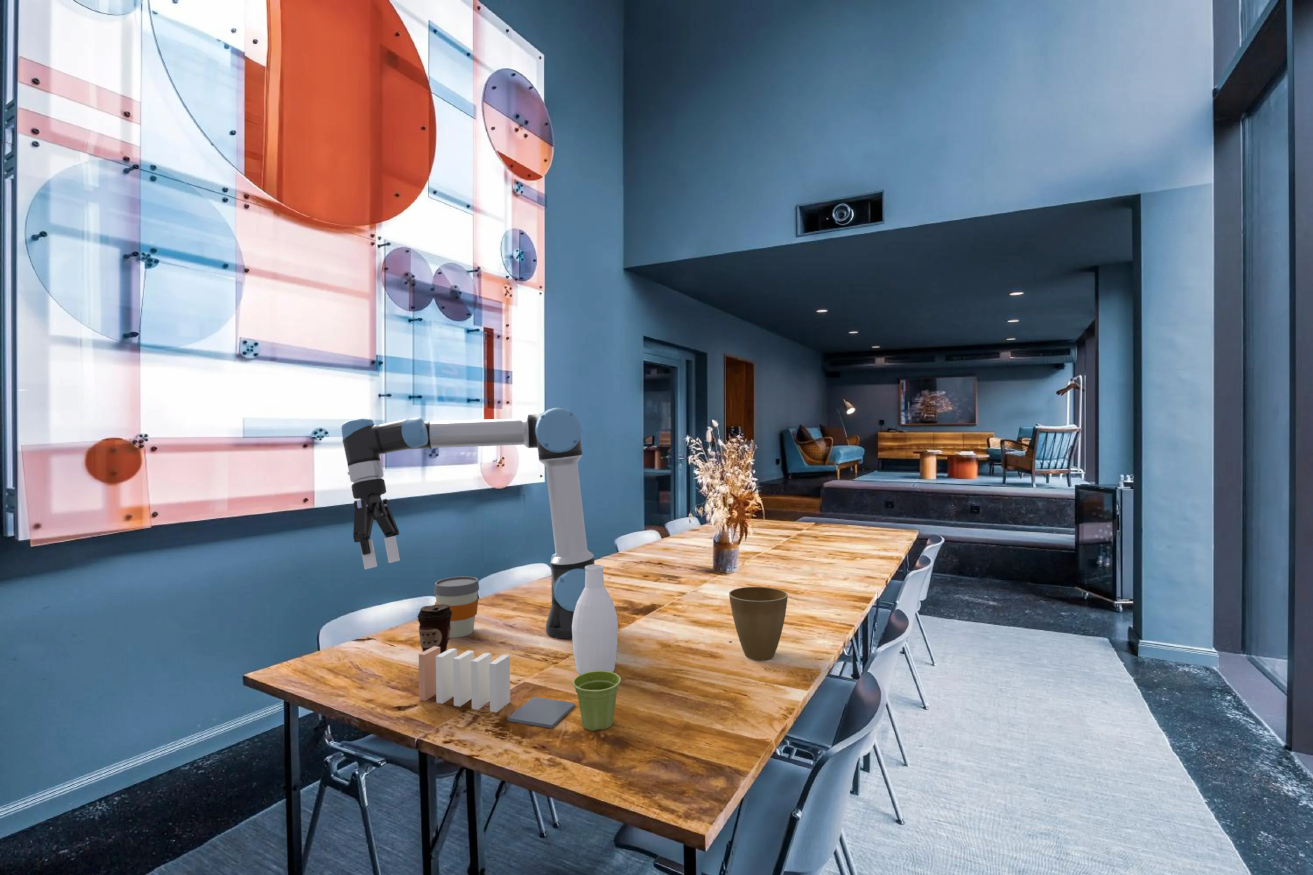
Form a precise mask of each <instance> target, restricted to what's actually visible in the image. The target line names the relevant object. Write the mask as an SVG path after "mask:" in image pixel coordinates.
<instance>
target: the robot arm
mask: <svg viewBox="0 0 1313 875" xmlns="http://www.w3.org/2000/svg"><path fill="white" fill-rule="evenodd" d="M582 431H583V430H582V424H581V422H580V420H579V418H578V417H577V415H576V414H575V413H574V412H573V411H572V410H569V409H567V408H563V407H552V408H548V409H546V410H545V411H543V412H542V413H537V414H536V413H535V414H526V415H525V416H524V417H523V418H497V419H495V418H494V419H466V420H465V419H464V420H463V419H462V420H459V419H458V420H435V421H434V420H432V421H430V420H429V421H427V420H424V419H423V418H421V417H413V418H412V417H411V418H410V417H408V418H405V419H402V420H396V421H391V422H386V423H383V424H382V423H381V424H375V423H374V421H373V420H372V419H371V418H355V419H350V420H348V421H344V423H342V425H341V434H342V443H343V447H344V453H345V457H346V462H347V469H348V471H347V475H348V476H349V481H350V482H351V483H352V485H351V492H352V496H353V497H352V498H353V499H355V500H354V501H353V507H354V514H353V515H354V516H353V517H354V518H353V531H352V532H353V533H352V537H353V541H354V543H359V545H360V546H359V547H360V553H361V558H362V563H363V568H364V570H369V569H373V568H377V567H378V562H377V558H376V557H377V556H376V552H375V547H374V540H373V539H371V535H372V529H373V524H374V520H375V521H376V523H377V525H378V526H379V528H380V530H381V532H382V533H383V535H384V536H385V537H384V538H383V540H384V541H383V542H384V545H385V551H386V557H387V563H388V564H391V563H395V562H400V561H401V558H400V552H399V547H398V541H397V536H398V535H400V531H399V527H398V526H397V523H396V520H395V518H394V516H393V513H392V510H391V508H390V505H389V504H390V503H389V501H388V499H387V498H383V499H382V495H384V494H386V493H387V487H386V483H385V480H384V479H383V477H384V471H383V465H382V461H381V455H384V454H385V455H386V454H389V453H393V452H400V451H405V450H419V449H421V450H422V449H423V450H424V449H441V448H443V449H444V448H445V449H446V448H470V447H495V446H496V447H497V446H499V447H500V446H522V445H523V446H525V447H526V448H527V449H535V448H536V449H537V453H538V460H539V462H540V463H541V464H543V465H544V467H545V475H546V482H547V490H548V498H549V500H548V501H549V507H550V517H551V524H552V526H551V527H552V534H553V543H554V551H555V553H553V554H552V555H551V557H550V565H551V568H550V572H551V574H550V575H551V576H550V577H551V578H550V580H551V584H550V585H551V607H550V609H549V613H548V617H547V619H546V623H545V633H546V635H548V636H550V637H552V638H557V639H573V638H572V622H573V615H574V611H575V608H576V604H577V601H578V599H579V597H580V596H581V594H582V592H583V590H584V588H585V574H586V570H585V566H587V565H596V564H595V555H594V554H593V552H592V551H590V550H589V549H588V543H587V542H588V541H587V536H586V527H585V517H584V508H583V501H582V500H583V499H582V492H581V482H580V472H579V465H578V464H579V461H580V460H581V458H582V457H583V448H582V441H581V440H582V439H581V436H582V433H583V432H582Z"/></svg>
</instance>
